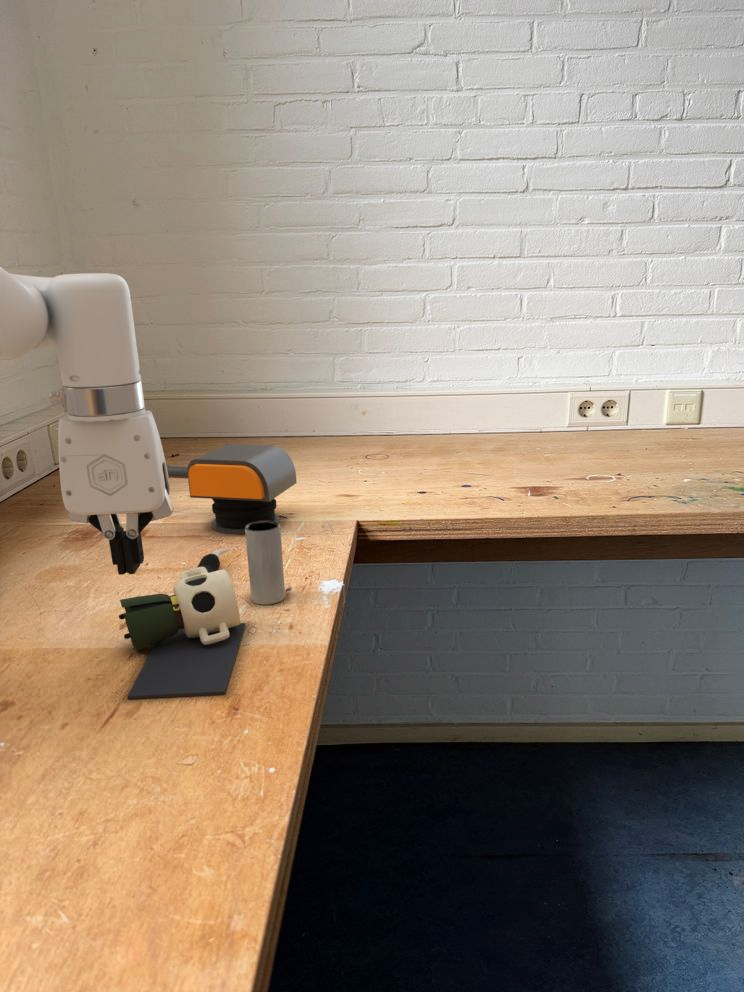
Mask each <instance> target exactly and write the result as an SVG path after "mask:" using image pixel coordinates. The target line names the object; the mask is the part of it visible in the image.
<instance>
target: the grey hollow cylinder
mask: <svg viewBox="0 0 744 992" xmlns="http://www.w3.org/2000/svg"><path fill="white" fill-rule="evenodd" d="M244 535H245V541H246V542H245V545H246V554H247V556H246V557H247V568H248V578H249V591H250V598H251V599H250V600H251V601H252V603H254V604H256V605H263V606H265V605H274V604H278V603H280V602H282V601H283V600H285V598H286V587H285V586H286V585H285V572H284V559H283V545H282V532H281V523H280V524H279V523H278V522H275V521H256V522H252V523H249V524H247V525H246V526H245V534H244Z"/></svg>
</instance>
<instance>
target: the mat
mask: <svg viewBox="0 0 744 992" xmlns="http://www.w3.org/2000/svg"><path fill="white" fill-rule="evenodd" d="M246 626H247V625H246V622H240V624H239V625H237V626H234V627H230V628H228V631H229V637H228V638H227V639H225V640H222V641H219V642H215V643H212V644H208V645H204V644H203V643H202V642H201V639H200V636H199V637H196V638H188V637H187V636H186V634H185V632H184V629H183V628H182V629H179V630H178V632H177V633H176V634H175V635H174V636H172V637H170V638H168V639H165V640H163V641H161V642H158V643H156V644H154V645H152V648H151V650H150V652H149V653H148V656H147V657H146V659H145V662H144V663H143V666H142V667H141V669H140V671H139V673H138V675H137V677H136V679H135V681H134V682H133V684H132V687H131V688H130V690H129V692H128V694H127V695H126V697H127V700H141V699H162V698H164V699H165V698H181V697H202V696H219V695H222V696H223V695H226V693H227V690H228V687H229V683H230V680H231V676H232V673H233V670H234V666H235V662H236V660H237V655H238V652H239V650H240V646H241V643H242V639H243V635H244V633H245V629H246ZM217 633H220V631H217V632H213V633H210V634H208V636H210V635H213V634H217Z"/></svg>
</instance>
